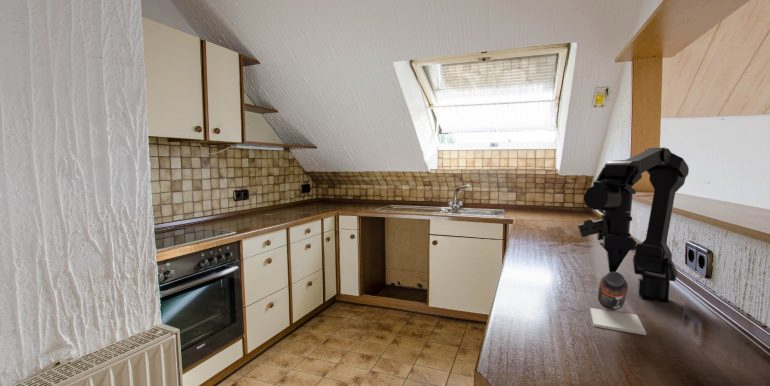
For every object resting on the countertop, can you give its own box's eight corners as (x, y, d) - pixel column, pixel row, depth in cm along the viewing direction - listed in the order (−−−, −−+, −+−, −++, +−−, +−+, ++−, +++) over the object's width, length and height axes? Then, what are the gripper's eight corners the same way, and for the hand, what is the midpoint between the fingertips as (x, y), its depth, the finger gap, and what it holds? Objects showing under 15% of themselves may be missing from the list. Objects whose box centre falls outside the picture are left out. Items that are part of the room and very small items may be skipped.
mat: (636, 317, 91) (636, 314, 91) (645, 335, 81) (646, 332, 81) (590, 310, 95) (590, 307, 95) (593, 326, 85) (593, 323, 85)
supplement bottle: (624, 313, 94) (629, 292, 86) (597, 308, 97) (600, 287, 89) (623, 292, 97) (629, 270, 89) (597, 288, 100) (600, 266, 92)
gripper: (579, 207, 104) (574, 262, 105) (583, 209, 87) (577, 274, 88) (625, 211, 99) (620, 268, 100) (639, 213, 83) (633, 283, 83)
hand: (611, 273), depth 93 cm, fingers closed, pressing on supplement bottle
